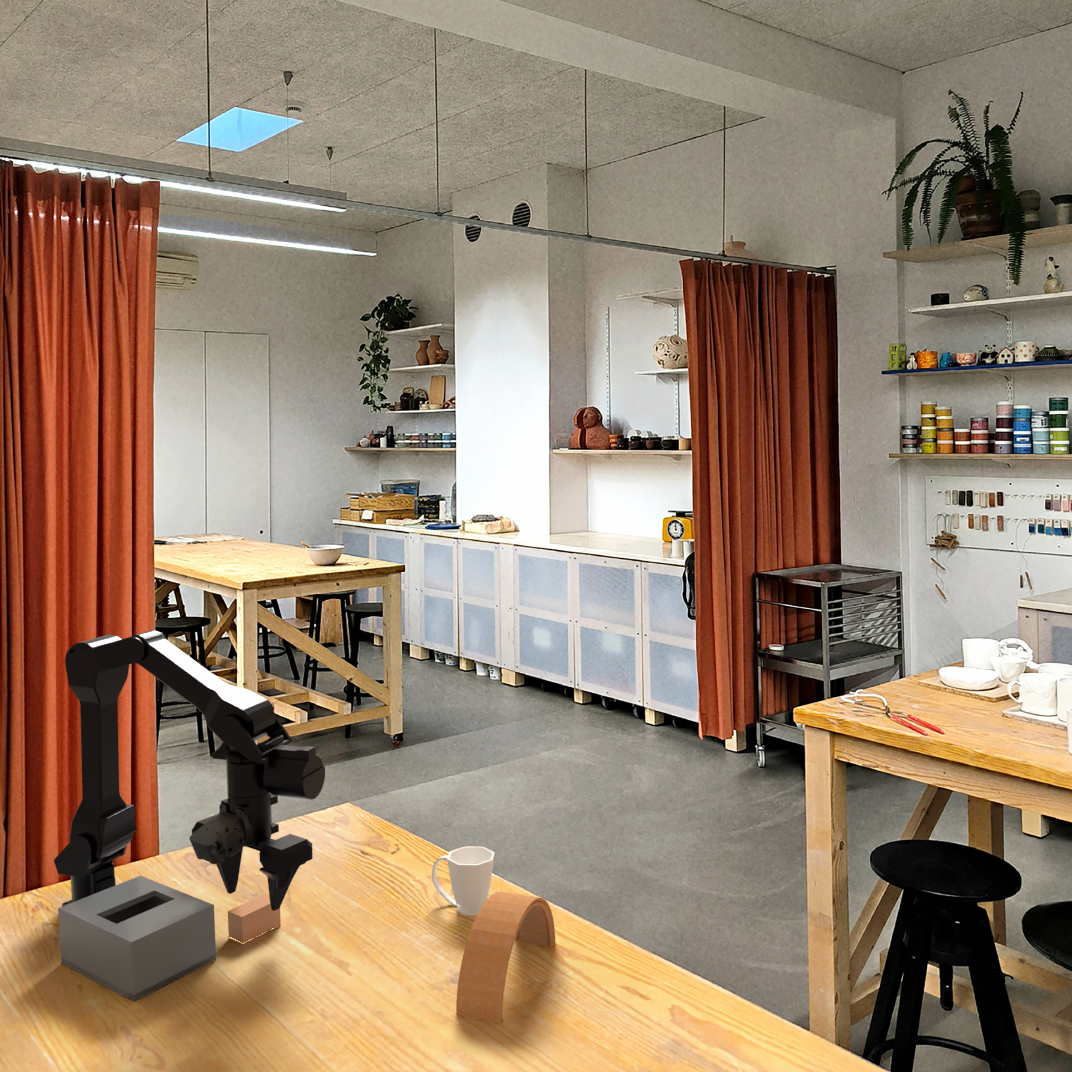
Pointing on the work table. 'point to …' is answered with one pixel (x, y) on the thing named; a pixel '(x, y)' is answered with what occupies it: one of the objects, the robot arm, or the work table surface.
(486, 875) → the cup
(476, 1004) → the arch
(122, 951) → the box
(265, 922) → the block
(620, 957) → the work table surface
